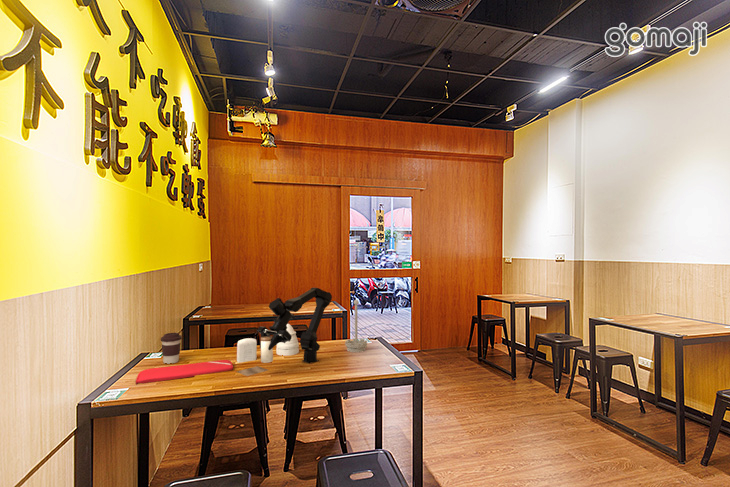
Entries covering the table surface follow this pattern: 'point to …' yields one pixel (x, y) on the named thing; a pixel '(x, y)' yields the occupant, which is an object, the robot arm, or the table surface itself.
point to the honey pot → (288, 344)
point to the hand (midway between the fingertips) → (264, 348)
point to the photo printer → (246, 350)
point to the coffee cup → (171, 347)
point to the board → (252, 371)
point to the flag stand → (355, 344)
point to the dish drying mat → (183, 371)
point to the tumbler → (266, 349)
